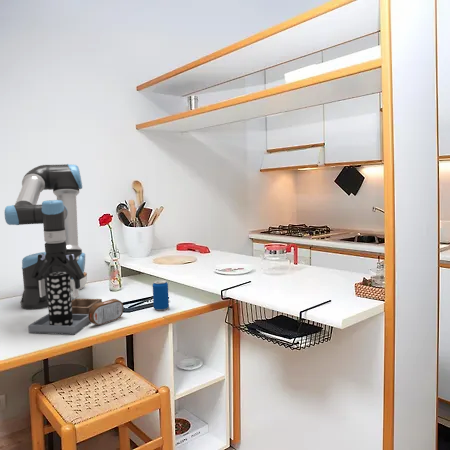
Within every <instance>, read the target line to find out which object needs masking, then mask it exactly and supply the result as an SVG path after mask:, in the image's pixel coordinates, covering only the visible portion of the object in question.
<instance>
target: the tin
mask: <svg viewBox="0 0 450 450" xmlns="http://www.w3.org/2000/svg"><path fill="white" fill-rule="evenodd" d="M123 313H124V303H123V302H122V301H121V300H119V299H116V298H111V299H108V300H104V301H102V302H100V303H96V304H95V305H93V306H92V307H91V309H90V311H89V315H88V317H89V320H90V322H91V323H90V324H92V325H96V326H101V325H106V324H107V323H111V322H113V321H117V320H119V319H121V317H122V315H123Z"/></svg>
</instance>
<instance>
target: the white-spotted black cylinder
mask: <svg viewBox="0 0 450 450" xmlns="http://www.w3.org/2000/svg"><path fill="white" fill-rule="evenodd" d="M46 280H47V295H48V307H47V308H48V314H49V324H50V325H61V326H71V325H72V324H73V318H72V302H71V301H72V290H71V286H70V275H69V273H68V272H66V271H61V272H52V273H48V274H46Z"/></svg>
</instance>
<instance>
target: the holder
mask: <svg viewBox="0 0 450 450" xmlns="http://www.w3.org/2000/svg"><path fill="white" fill-rule="evenodd" d="M71 302H72V314H89V311H90V309H91V307H92V306H93V305H95V304H96V303H100V302H103V300H102V298H78V297H76V298H73V299H71Z"/></svg>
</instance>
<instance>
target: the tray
mask: <svg viewBox="0 0 450 450" xmlns="http://www.w3.org/2000/svg"><path fill="white" fill-rule="evenodd" d="M88 315H89V314H72V318H73V324H72V325H71V326H61V325H50V324H49V313H47V314H45V315H44V316H42V317H40V318H39V319H37V320H34V322H32V323H30V324H28V325H27V326H28V327H27V328H28V334H39V335H63V336H64V335H68V336H70V335H72V336H74V335H76V334H78V333H79V332H80V331H81V330H83V329H84V328H85V327H87V326H88V325H89V324H92V323H91V322H90V320H89V317H88Z"/></svg>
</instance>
